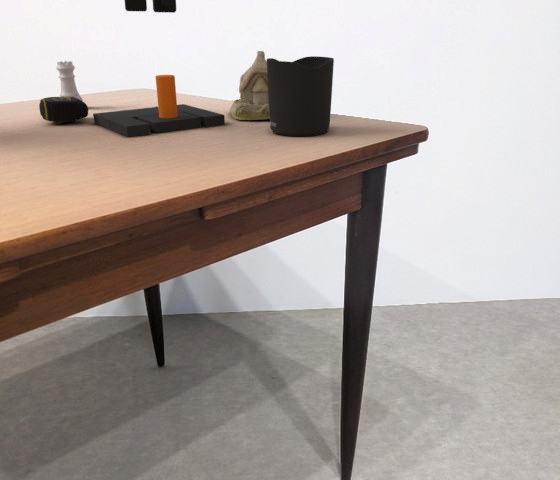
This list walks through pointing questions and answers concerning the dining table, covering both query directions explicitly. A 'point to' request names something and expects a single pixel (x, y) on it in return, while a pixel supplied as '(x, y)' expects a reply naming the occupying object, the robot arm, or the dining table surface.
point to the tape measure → (62, 109)
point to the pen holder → (300, 95)
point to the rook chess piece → (67, 80)
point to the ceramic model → (253, 92)
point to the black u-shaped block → (129, 124)
